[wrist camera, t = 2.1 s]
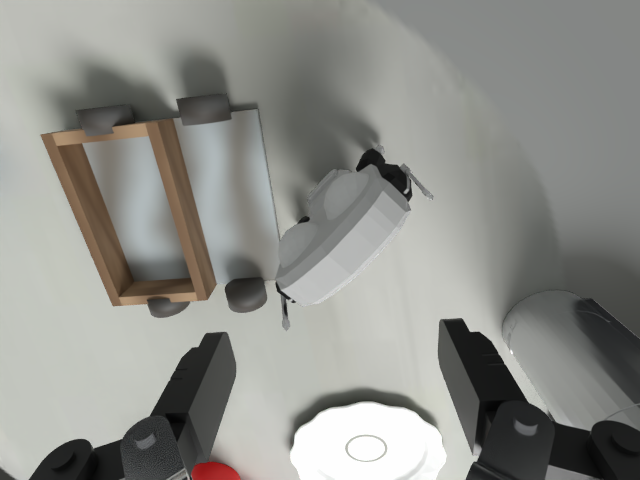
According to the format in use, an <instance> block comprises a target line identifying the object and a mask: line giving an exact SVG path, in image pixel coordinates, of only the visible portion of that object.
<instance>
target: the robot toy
mask: <svg viewBox="0 0 640 480" xmlns="http://www.w3.org/2000/svg"><path fill="white" fill-rule="evenodd" d="M383 154H384V148H383V146H381V145H378V146H377V147H376V148H375V149H373V148H372V149H370V150H367V151H366V152H365V153H364V154H363V155H362V157H361V159H360V161H359V163H358V165H357V167H356V171H357V172H351V171H350V170H337V169H333V170H331V171H330V172H329V173H328V174H327V175H326V176H325V177H324V178H323V179H322V180H321V181H320V183H319V184H318V185H317V186H316V187H315V188H314V189H313V190H312V191H311V193H310V194H309V195H308V203H309V217H307V216H305V217H304V218H302V219H301V220H300V221H299V222H298V223H297V224H296V225H294V226H293V227H291V228H290V229H288V230H287V231H286V232H285V234H284V235H283V237H282V239H281V240H280V242H279V249H278V257H279V260H280V264H279V267H278V271H277V274H276V277H275V280H276V288H277V292H278V293H280V294H281V302H282V314H283V321H282V326H283V328H284V329H285V330H286V331H287V330H288V329H289V327H290V323H289V321H288V313H287V303H286V299H288V300H289V301H290V302H292V303H295V302H297V303H298V304H300V305H301V306H302V307H304V306H307V305H311V304H318V303H320V302H322V301H324V300H325V299H327V298H328V297H330V296H332V295H333V294H335V293H336V292H337V291H339V290H340V289H341V288H343V287H344V286H345V285H346V284H348V283H349V282H350V281H352V280H353V279H354V278H356V277H357V276H358V275H359V274H360V273H361V272H362V271H363V270H364V269H365V268H366V267H367V266H368V265H369V264H370V263H371V262H372V261H373V260H374V259H375V258H376V257H377V256H378V255H379V254H380V253H381V252H382V251H383V250H384V248H385V247H386V246H387V245H388V244H389V243H390V241H391V240H392V239H393V238H394V237H395V236H396V234H397V233H398V232H399V231H400V229H401V228H402V226H403V224H404V222H405V220H406V219H407V217H408V215H409V213H410V211H411V209H410V206H409V204H408V202H409V200H410V199H411V197H412V189H411V179H412V180H413V181H414V182H415V184H416V185H417V186H418V187H419V188H420V189H421V190H422V193H423V194H424V195H425V196H426V197H427V198H428V199H429V200H433V195H432V194H431V193H430V192H429V191H428V190H427V189H425V188H424V187H423V186H422V185H421V183H420V182H419V181H418V180H417V179H416V178H415V177H414V176H413V175H412V173H413V172H412V171H411V170H410V169H409V168H408V167H407V166H406V165H405V164H403V165H402V166H401V167H399V166H398V165H392V164H385V159H384V158H383V156H382V155H383ZM409 177H410V178H411V179H410V178H409Z"/></svg>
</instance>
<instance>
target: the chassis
mask: <svg viewBox="0 0 640 480" xmlns="http://www.w3.org/2000/svg"><path fill="white" fill-rule="evenodd" d="M176 101H177V105H178V109H179V112H180V116H181V117H178V118H169V119H160V120H151V121H142V122H135V121H134V117H133V114H132V111H131V108H130V104H129V105H120V106H111V107H102V108H93V109H84V110H76V114H77V116H78V119H79V122H80V124H81V127H82V128H78V129H69V130H62V131H58V132H53V133H47V134H42V135H41V137H42V140H43V142H44V145H45V147H46V149H47V152H48V154H49V156H50V159H51V161H52V163H53V166H54V168H55V171H56V173H57V175H58V178H59V180H60V182H61V185H62V187H63V189H64V192H65V194H66V197H67V199H68V201H69V204H70V206H71V208H72V211H73V213H74V216H75V218H76V220H77V223H78V225H79V227H80V230H81V232H82V234H83V237H84V239H85V242H86V244H87V246H88V249H89V251H90V253H91V256H92V258H93V260H94V263H95V265H96V268H97V270H98V272H99V275H100V277H101V279H102V282H103V284H104V286H105V289H106V291H107V294H108V296H109V298H110V301H111V303H112V305H113V306H124V305H139V304H147V305H148V307H149V310H150V313H151V315H152V316H154V317H157V318H164V317H169V316H173V315H175V314H178V313H180V312H181V311H183V310H184V309H185V308H186V307H187V306H188V305H189V303H190V301H201V300H208V298H209V297H210V295H211V293H212V292H213V290H214V288H215V286H216V285H217V284H226V283H228V284H227V285H226V287H225V293H226V297H227V300H228V304H229V308H230V309H231V310H232V311H234V312H238V313H246V312H251V311H254V310H256V309H258V308H260V307H262V306H263V305H264V304H265V303H266V301H267V294H266V289H265V284H264V281H270V280H275V277H276V274H277V271H278V267H279V264H280V260H279V257H278V249H279V242H280V236H279V230H278V224H277V218H276V212H275V206H274V200H273V194H272V188H271V182H270V176H269V170H268V164H267V158H266V152H265V146H264V140H263V134H262V128H261V122H260V116H259V110H258V109H252V110H243V111H233V112H230V107H229V102H228V97H227V93H225V94H216V95H207V96H199V97H190V98H181V99H176Z"/></svg>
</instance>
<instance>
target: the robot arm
mask: <svg viewBox="0 0 640 480" xmlns="http://www.w3.org/2000/svg"><path fill="white" fill-rule="evenodd" d="M502 335H503V339H504V341H505V343H506V344H507V346H508V348H509V350H510V352H511V353H512V354H513V355H514V357H515V358H516V360H517V362H518V363H519V365H520V366H521V368H522V370H523V371H524V373H525V374H526V376H527V377H528V379H529V380H530V382H531V383H532V385H533V386H534V388H535V390H536V391H537V393H538V394H539V396H540V397H541V399H542V400H543V402H544V403H545V405H546V406H547V408H548V410H549V411H550V413H551V414H552V416H553V417H554V419H555V420H556V422H557V423H556V422H554V421H552V420H551V419H550V418H549V417H548V415H547V414H546V413H545V412H543V411H542V410H541V409H539V408H538V407H536V406H534V405H532V404H530V403H529V402H528V401H527V399H526V398H525V396H524V394H523V393H522V391H521V390H520V388H519V386H518V385H517V383H516V381H515V380H514V378H513V376H512V375H511V373H510V371H509V370H508V368H507V366H506V365H504V361H503V360H502V358H501V357H500V355H499V354H498V352H497V350H496V348H495V347H494V345H493V343H492V342H491V341H490V340H489V339H488V338H487V337H485V336H484V335H483V334H482V333H480V332H470V331H469V329H468V328H467V326H466V324H465V322H464V320H463V319H462V318H457V319H441V320H440V322H439V340H438V359H439V365H440V368H441V371H442V374H443V377H444V379H445V382H446V385H447V387H448V390H449V393H450V395H451V398H452V401H453V404H454V406H455V409H456V412H457V414H458V417H459V420H460V422H461V425H462V428H463V430H464V433H465V436H466V439H467V441H468V444H469V447H470V449H471V452H472V455H473V456H479V458H478V460H477V462H473V464H472V465H471V468H470V470H469V472H468V475H467V477H466V480H640V339H639V338H638V337H637V336H636V335H635V334H633V333H632V332H631V331H630V330H629V329H628V328H626V327H625V326H624V325H623V324H622V323H620V322H619V321H618V320H617V319H616V318H615V317H613V316H612V315H611V314H610V313H609V312H607V311H606V310H605V309H604V308H603V307H602V306H600V305H599V304H598V303H597V302H595V301H594V300H593V299H592V298H586V299H585V298H581V297H579V296H578V295H576V294H574V293H573V292H570V291H567V290H566V291H561V290H548V291H543V292H539V293H536V294H533V295H531V296H528V297H527V298H525V299H523V300H522V301H520V302H519V303H518V304H516V305H515V306H514V307H513V308H512V309H511V310H510V312H509V313H508V314H507V316H506V318H505V320H504V323H503V326H502ZM235 377H236V362H235V358H234V354H233V350H232V347H231V343H230V339H229V336H228V334H227V332H216V333H206V334H205V335H204V337H203V339H202V341H201V343H200V345H199V347H194V348H191V349H190V350H189V351H188V352H187V353H186V354H185V355H184V356H183V357H182V358H181V360H180V362H179V364H178V366H177V367H176V371H174V373H173V375H172V376H171V378H170V381H169V382H168V384H167V386H166V387H165V389H164V391H163V393H162V395H161V397H160V398H159V400H158V402H157V404H156V406H155V407H154V409H153V411H152V413H151V415H150V416H149V417H147V418H145V419H142V420H141V421H139V422H137V423H136V424H135V425H133V426H132V427H131V428H130V429H129V430H128V431H127V432H126V434H125V435H124V437H123V439H121V440H118V441H115V442H112V443H109V444H106V445H103V446H100V447H97V448H94V449H93V447H92V445H91V444H90V442H89V441H87V440H85V439H76V440H72V441H69V442H67V443H65V444H63V445H61V446H59V447H58V448H56V449H55V450H53V451H52V452H51V453H50V454H49V455H48V456H47V457H46V458H45V459H44V460H43V461H42V462H41V463H40V465H39V466H38V468H37V469H36V470H35V472H34V473H33V475H32V476H31V477H30V479H29V480H193V478H192V476H191V473H192V470H193V468H194V465H195V463H207V462H208V459H209V456H210V453H211V450H212V447H213V444H214V441H215V438H216V435H217V432H218V429H219V426H220V423H221V420H222V417H223V414H224V411H225V408H226V405H227V402H228V399H229V396H230V393H231V390H232V387H233V384H234V380H235Z"/></svg>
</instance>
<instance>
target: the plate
mask: <svg viewBox="0 0 640 480" xmlns="http://www.w3.org/2000/svg"><path fill="white" fill-rule="evenodd" d="M362 434H370V435H375V436H378V437H380V438H382V439H383V440H384V441H385V442H386V444H387V447H388V450H387V453H386V454H385V456H384V457H382V458H381V459H379V460H377V461H373V462H360V461H356V460H354V459H352V458H350V457H349V456H348V455H347V453H346V451H345V445H346V443H347V441H348V440H350V439H351V438H353V437H354V436H357V435H362ZM384 450H385V447H384V444H383V443H382V442H381V441H380V440H379V439H377V438H374V437H369V436H364V437H358V438H356V439H354V440H352V441H351V442H350V444H349V445H348V451H349V453H350V455H352V456H353V457H354V458H356V459H359V460H373V459H376V458H378V457H380V456H381V455H382V454H383V452H384ZM446 455H447V454H446V452H445V450H444V448H443V446H442V436H441V434H440V432H439V431H438V430H437V428H436V427H435V426H433V425H431V424H430V423H428V422H426V421H424V420H423V419H422V418H421V417H420V416H419V415H418V414H417V413H416V412H414V411H412V410H409V409H407V408H405V407H396V406H387V405H384V404H380V403H377V402H357V403H354V404H351V405H348V406H340V407H331V408H328V409H326V410H323V411H321V412H319V413H318V414H317V415H316V416H315V417H314V418H313V419H312V420H311V421H309V422H308V423H306V424H304V425H302V426H300V428H299V429H298V430H297V432H296V433H295V436H294V445H293V447H292V449H291V451H290V460H291V462H292V464H293V465H294V466H295V468H296V469H297V471H298V474H299V477H300V479H301V480H435V479H436V477H437V474H438V471H439V470H440V468H441V467H442V466H443V465H444V463H445V461H446Z"/></svg>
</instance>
